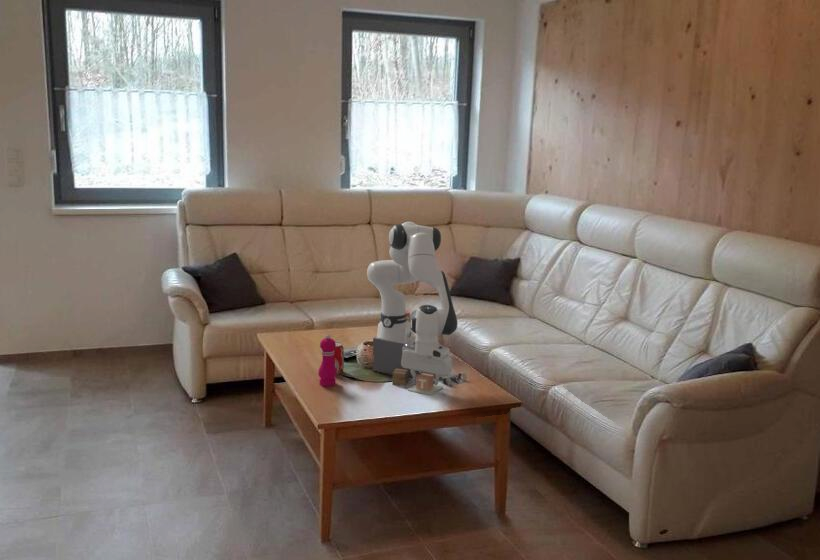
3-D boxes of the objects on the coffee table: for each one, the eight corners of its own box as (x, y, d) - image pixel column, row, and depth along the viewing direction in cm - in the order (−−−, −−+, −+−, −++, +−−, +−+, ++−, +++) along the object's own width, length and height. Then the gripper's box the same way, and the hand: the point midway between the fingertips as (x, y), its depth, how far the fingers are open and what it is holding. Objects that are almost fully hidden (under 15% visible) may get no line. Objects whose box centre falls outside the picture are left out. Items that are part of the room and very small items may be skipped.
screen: (377, 367, 321) (378, 335, 318) (420, 376, 312) (421, 343, 309) (372, 370, 317) (373, 338, 314) (415, 379, 308) (416, 346, 305)
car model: (449, 388, 301) (449, 375, 300) (406, 372, 318) (406, 360, 317) (468, 382, 309) (469, 370, 308) (425, 366, 326) (426, 355, 325)
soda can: (340, 375, 310) (341, 347, 307) (323, 374, 311) (324, 345, 309) (345, 370, 317) (346, 342, 314) (329, 368, 318) (329, 340, 316)
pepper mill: (315, 381, 302) (316, 332, 298) (333, 379, 305) (334, 331, 301) (321, 387, 296) (321, 337, 292) (339, 385, 299) (339, 336, 294)
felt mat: (419, 382, 304) (419, 382, 304) (442, 387, 300) (442, 386, 300) (407, 390, 296) (407, 389, 296) (431, 395, 291) (431, 394, 291)
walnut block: (395, 380, 307) (395, 368, 306) (407, 381, 306) (408, 369, 305) (392, 384, 302) (392, 372, 301) (404, 385, 301) (405, 373, 300)
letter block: (422, 385, 301) (422, 372, 300) (433, 387, 299) (434, 375, 298) (416, 388, 297) (416, 376, 296) (427, 391, 294) (428, 378, 293)
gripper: (398, 345, 296) (397, 379, 299) (447, 354, 287) (445, 389, 290) (406, 341, 302) (405, 375, 305) (453, 350, 293) (452, 384, 296)
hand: (425, 382), depth 297 cm, fingers open, 7 cm apart
